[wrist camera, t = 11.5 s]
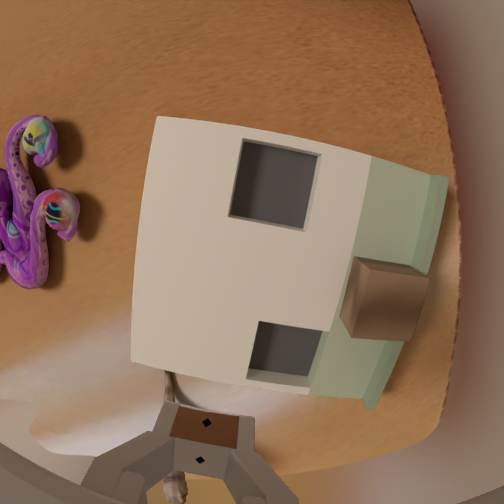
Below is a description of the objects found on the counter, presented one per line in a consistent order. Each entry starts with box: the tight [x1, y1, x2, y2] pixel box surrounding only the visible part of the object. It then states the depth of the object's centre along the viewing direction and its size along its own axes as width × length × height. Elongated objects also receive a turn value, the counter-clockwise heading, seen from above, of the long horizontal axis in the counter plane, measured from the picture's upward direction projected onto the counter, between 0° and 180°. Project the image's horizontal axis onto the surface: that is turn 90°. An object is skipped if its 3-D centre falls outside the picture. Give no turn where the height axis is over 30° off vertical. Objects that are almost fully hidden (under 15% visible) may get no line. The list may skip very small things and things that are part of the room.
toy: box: [163, 370, 188, 504], centre depth 31 cm, size 7×17×10 cm
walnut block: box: [339, 256, 431, 342], centre depth 26 cm, size 6×6×4 cm
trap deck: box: [131, 116, 449, 409], centre depth 28 cm, size 25×27×4 cm
